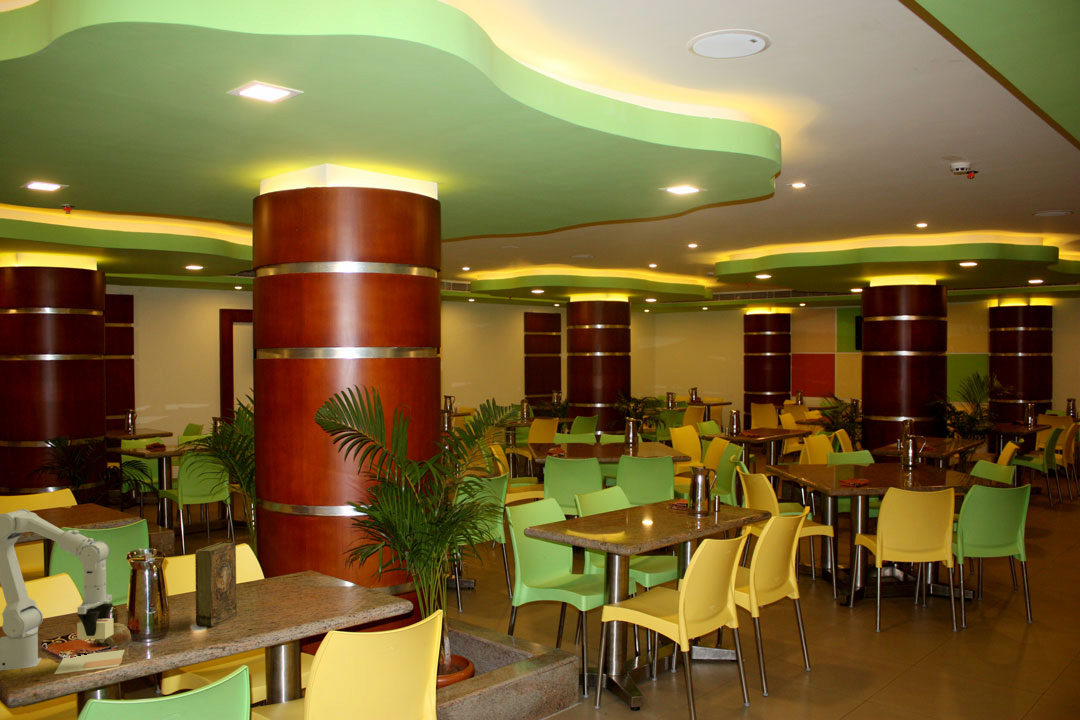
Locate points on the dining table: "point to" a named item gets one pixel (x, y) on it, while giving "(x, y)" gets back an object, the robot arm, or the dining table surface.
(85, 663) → the mat
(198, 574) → the book
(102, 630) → the card box
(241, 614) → the dining table surface
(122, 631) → the bread roll
